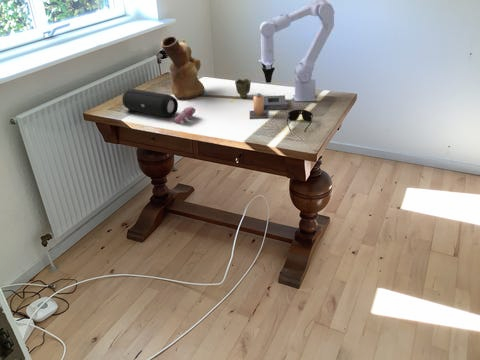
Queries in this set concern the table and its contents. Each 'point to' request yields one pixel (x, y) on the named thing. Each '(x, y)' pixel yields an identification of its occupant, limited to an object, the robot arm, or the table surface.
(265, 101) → the housing
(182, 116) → the pink elongated curved piece
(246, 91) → the cup
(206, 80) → the table surface
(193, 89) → the ceramic vessel
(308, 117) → the sunglasses
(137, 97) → the portable speaker
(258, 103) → the tapered peach cylinder
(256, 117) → the mat
